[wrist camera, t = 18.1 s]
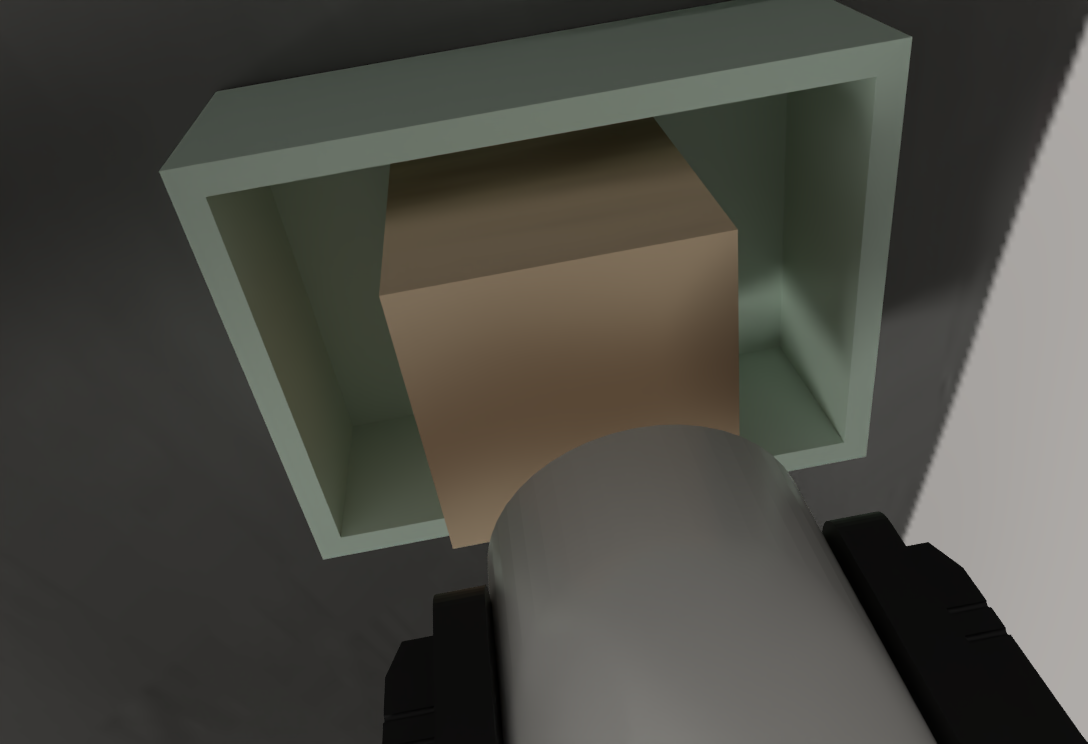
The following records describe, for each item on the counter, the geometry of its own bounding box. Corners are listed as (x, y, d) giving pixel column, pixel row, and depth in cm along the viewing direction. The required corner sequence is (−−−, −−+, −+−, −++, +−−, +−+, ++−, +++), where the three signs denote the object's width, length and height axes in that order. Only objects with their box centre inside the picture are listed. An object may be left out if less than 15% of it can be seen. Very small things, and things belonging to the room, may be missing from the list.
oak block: (390, 150, 19) (378, 296, 14) (644, 105, 19) (737, 229, 14) (444, 361, 23) (453, 548, 17) (659, 321, 23) (740, 493, 17)
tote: (339, 433, 24) (323, 559, 20) (215, 91, 19) (158, 171, 15) (792, 348, 25) (866, 456, 21) (805, -13, 19) (912, 36, 15)
